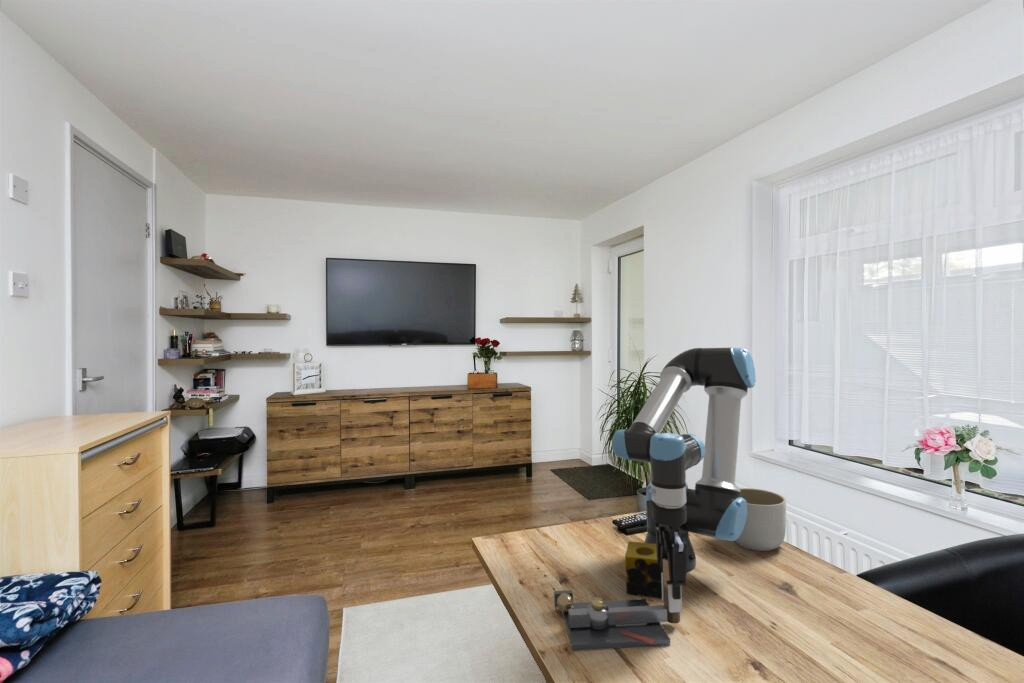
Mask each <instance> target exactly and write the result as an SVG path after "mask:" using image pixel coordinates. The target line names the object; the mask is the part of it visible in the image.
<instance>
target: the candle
mask: <svg viewBox="0 0 1024 683" xmlns="http://www.w3.org/2000/svg"><path fill="white" fill-rule="evenodd" d="M624 560H625V561H624V562H625V570H626V571H625V572H626V573H625V575H626V577H625V578H626V581H625V587H626V590H625V592H626V594H627V595H632V596H639V597H646V598H652V599H653V598H655V599H659V600H662V581H661V573H662V571H661V570H660V565H658V564H657V548H656V544H652V543H644V542H641V541H628V543H627V548H626V550H625V555H624Z"/></svg>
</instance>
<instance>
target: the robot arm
mask: <svg viewBox="0 0 1024 683" xmlns="http://www.w3.org/2000/svg"><path fill="white" fill-rule="evenodd" d="M755 385H756V367H755V363H754V360H753V357H752V354H751V353H750V351H749V350H748V349H746V348H745V347H744V348H743V347H732V346H730V347H694V348H690V349H687V350H684V351H683V352H681V353H678V355H676V356H675V357H673V358H672V359H671V360H669V361H668V362H667V363H666V365H665V366H664V367H663V369H662V370H661V371H660V374H659V381H658V383H657V384H656V385H655V387H654V389H653V391H652V392H651V394H650V395H649V397H648V399H647V400H646V402H645V403H644V405H643V406H642V407H641V410H639V413H638V414H637V415H636V417H635V419H634V420H633V421H632V424H631V425H630V427H628V429H626V428H624V429H617V430H615V432H614V434H613V436H612V439H611V449H612V451H613V454H614V455H615V456H616V457H617V458H620V459H624V460H628V461H636V462H643V463H650V476H651V478H650V483H649V484H648V485H647V486H646V488H645V489H646V490H645V491H646V492H645V495H646V496H645V502H646V504H645V505H646V531H647V532H646V536H645V538H644V542H643V543H652V544H656V548H657V564H658V565H660V570H661V571H662V573H661V581H662V599H661V601H662V603H664V590H663V558H664V557H668V566H669V578H670V581H667V584H668V602H669V612H670V613H671V612H680V613H682V612H683V604H682V602H683V601H682V599H683V598H682V586H686V585H687V575H686V574H687V572H690V571H692V570H693V569H695V568H696V566H697V560H696V558H697V557H696V553H695V550H694V548H693V545H692V542H691V539H690V536H689V535H690V534H689V533H693V534H696V535H700V536H706V537H708V538H709V537H710V538H713V539H716V540H723V541H728V542H736V541H735V540H737V539H738V538H739V537H740V535H741V533H742V531H743V529H744V526H745V522H746V517H747V502H746V500H745V499H743V498H742V497H740V494H741V491H740V490H739V488H740V487H738V486H737V485H736V474H737V462H738V460H737V459H738V448H739V447H738V446H739V433H740V420H741V417H740V416H741V404H742V400H743V399H744V398H745V397H746V396H747V395H748V391H749V390H748V389H752V388H754V387H755ZM695 386H703V391H704V392H705V393H706V394H707V395H708V405H707V417H706V427H705V428H706V429H705V439H704V440H705V441H704V442H703V440H702V439H701V438H700V437H699V436H697V435H695V434H692V433H683V434H678V433H671V432H670V433H669V432H662V431H663V429H664V428H665V425H666V424H667V422H668V420H669V419H670V417H671V415H672V413H673V412H674V411H675V408H676V406H677V405H678V403H679V401H680V400H681V398H682V396H683V394H684V393H687V392H688V391H689V390H690V389H691V388H692V387H695ZM702 460H703V461H702ZM701 461H702V473H701V478H700V479H699V480H697V481H696V482H695V486H694V489H693V488H689V485H688V483H687V480H686V476H687V475H686V472H687V471H688V469H690V468H692V467H694V466H697V465H699V463H700V462H701Z"/></svg>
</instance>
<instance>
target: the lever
mask: <svg viewBox="0 0 1024 683" xmlns="http://www.w3.org/2000/svg"><path fill="white" fill-rule="evenodd" d="M667 581H670V578H669V566H668V557H664V558H663V590H664V602H663V604H659V605H658V604H655V605H649V606H634V607H615V608H608V606H607V605H605V604H603V605H604V608H603V609H601V610H595V609H593V608H592V603H590V604H589V605H588V606H587V608H582V609H568V614H569V624H570V628H578V627H591V628H593V629H598V630H601V629H605V628H607V627H608V626H609V625H618V624H636V623H654V622H660V623H669V624H678V623H680V622H681V612H671V613H670V612H669V602H668V584H667Z"/></svg>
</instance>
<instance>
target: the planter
mask: <svg viewBox="0 0 1024 683" xmlns="http://www.w3.org/2000/svg"><path fill="white" fill-rule="evenodd" d="M738 488H739V490H740V491H741V494H740V497H742V498H743V499H745V500H746V502H747V517H746V522H745V526H744V529H743V531H742V533H741V535H740V537H739V538H738V539H737V540H735V541H734V542H736V543H737V544H738V545H739V546H741V547H742V548H745V549H749V550H753V551H757V552H770V551H773V550H775V549H777V548H778V547H780V546H781V545H782V544H783V542H784V540H785V539H786V538H785V537H786V532H787V531H786V526H787V500H786V498H785V497H784V496H783V495H781V494H779V493H777V492H773V491H770V490H766V489H760V488H751V487H750V488H749V487H738Z"/></svg>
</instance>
